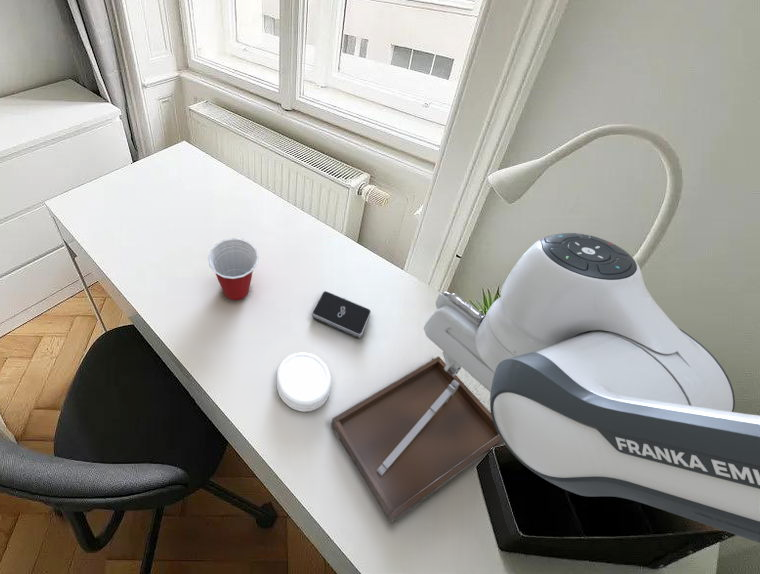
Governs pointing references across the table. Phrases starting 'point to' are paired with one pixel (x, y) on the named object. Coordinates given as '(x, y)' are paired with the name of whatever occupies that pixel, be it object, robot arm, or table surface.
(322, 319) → the external hard drive
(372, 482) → the tray
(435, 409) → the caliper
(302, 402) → the white round container
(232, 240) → the plastic cup
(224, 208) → the table surface
